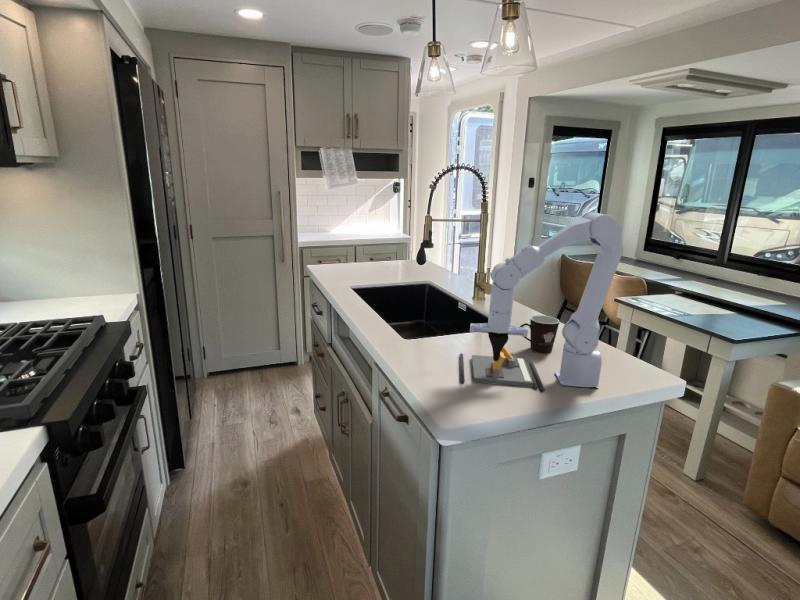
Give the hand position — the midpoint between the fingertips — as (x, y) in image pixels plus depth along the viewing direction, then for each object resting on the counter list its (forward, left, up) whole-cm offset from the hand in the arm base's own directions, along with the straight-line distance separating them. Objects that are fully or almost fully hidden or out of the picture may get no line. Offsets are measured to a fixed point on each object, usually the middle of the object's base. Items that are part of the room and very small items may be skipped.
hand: (495, 359), depth 121 cm
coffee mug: (-15, -24, -5) cm, 29 cm away
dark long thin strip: (-10, -3, -5) cm, 12 cm away
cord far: (+8, -4, -5) cm, 11 cm away
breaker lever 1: (0, 0, -3) cm, 3 cm away
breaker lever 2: (-5, -8, -3) cm, 10 cm away
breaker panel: (-2, -4, -5) cm, 7 cm away
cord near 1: (-12, -3, -5) cm, 13 cm away
